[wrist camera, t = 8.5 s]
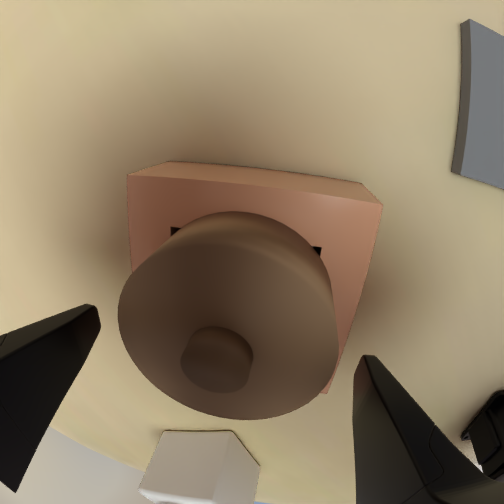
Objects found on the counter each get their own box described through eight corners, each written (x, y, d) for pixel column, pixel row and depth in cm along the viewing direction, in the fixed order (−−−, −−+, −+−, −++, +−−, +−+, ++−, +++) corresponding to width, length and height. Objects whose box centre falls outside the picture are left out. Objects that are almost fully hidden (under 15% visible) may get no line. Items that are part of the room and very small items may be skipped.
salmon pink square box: (361, 183, 13) (383, 204, 9) (324, 341, 17) (327, 393, 13) (169, 161, 14) (127, 174, 10) (172, 316, 18) (144, 360, 14)
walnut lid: (350, 225, 10) (372, 279, 6) (312, 376, 13) (310, 447, 9) (150, 202, 11) (88, 239, 7) (161, 350, 13) (127, 409, 10)
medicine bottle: (162, 429, 23) (115, 535, 12) (233, 429, 21) (197, 560, 11) (197, 465, 26) (166, 558, 15) (261, 466, 24) (240, 573, 13)
